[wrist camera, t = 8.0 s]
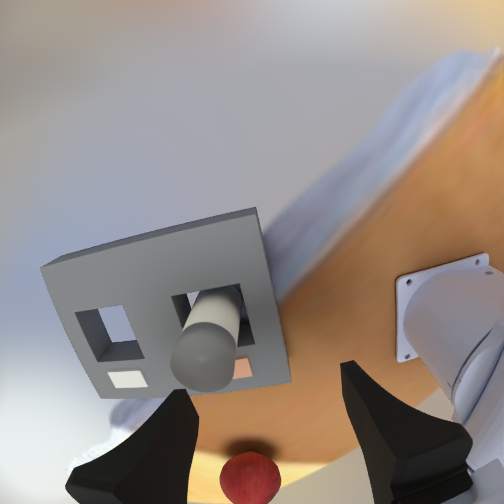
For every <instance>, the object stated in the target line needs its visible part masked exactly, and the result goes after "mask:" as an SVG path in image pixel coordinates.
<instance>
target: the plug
mask: <svg viewBox="0 0 504 504" xmlns="http://www.w3.org/2000/svg"><path fill="white" fill-rule="evenodd" d="M241 306H242V299H241V295H240V293H239V291H238V290H237V289H236V288H235V287H234V286H233V285H228V286H222V287H217V288H212V289H207V290H201V291H200V292H199V294H198V296H197V298H196V301H195V303H194V305H193V307H192V310H191V312H190V314H189V317H188V319H187V321H186V323H185V326H184V328H183V330H182V333H181V335H180V337H179V340H178V342H177V344H176V347H175V349H174V351H173V354H172V356H171V360H170V367H171V371H172V373H173V375H174V376H175V378H176V379H177V380H178V381H179V382H180V383H181V384H182V385H184V386H185V387H187V388H189V389H191V390H194V391H198V392H215V391H219V390H221V389H223V388H225V387H226V386H227V385H228V384H229V383H230V382H231V381H232V379H233V376H234V369H235V360H236V351H237V342H238V333H239V324H240V315H241Z"/></svg>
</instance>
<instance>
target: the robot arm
mask: <svg viewBox="0 0 504 504" xmlns="http://www.w3.org/2000/svg"><path fill="white" fill-rule="evenodd" d="M476 260H477V262H476ZM475 262H476V263H475ZM409 279H410V282H409V283H408V284H406V282H407V280H409ZM396 305H397V340H396V360H397V361H398V362H400V363H401V362H405V361H408V360H411V359H414V358H417V357H420V359H421V360H422V362H423V363H424V364H425V366H426V367H427V368H428V370H429V371H430V373H431V374H432V376H433V377H434V378H435V380H436V381H437V383H438V384H439V385H440V387H441V388H442V390H443V391H444V393H445V394H446V396H447V397H448V399H449V400H450V402H451V403H452V405H453V406H454V414H453V415H452V420H453V421H454V422H451V421H447V420H443V419H439V418H436V417H433V416H431V415H428V414H426V413H423V412H421V411H419V410H417V409H415V408H413V407H411V406H409V405H407V404H405V403H404V402H402V401H400V400H399V399H397V398H396V397H394V396H393V395H392V394H390V393H389V392H387V391H386V390H385V389H384V388H382V387H381V386H380V385H379V384H378V383H376V382H375V381H374V380H373V379H372V378H371V377H370V376H369V375H368V374H367V373H366V372H365V371H364V370H363V369H362V368H361V367H360V366H359V365H358V364H357V363H356V362H355V361H354V360H352V361H348V362H344V363H340V368H341V380H342V394H343V399H344V402H345V406H346V410H347V414H348V416H349V419H350V421H351V424H352V426H353V429H354V431H355V434H356V436H357V439H358V441H359V444H360V446H361V449H362V452H363V455H364V459H365V462H366V467H367V471H368V475H369V479H370V484H371V488H372V493H373V498H374V503H375V504H504V273H502V272H501V271H499V270H497V269H495V268H494V267H492V266H490V265H489V255H488V254H486V253H481V254H478V255H475V256H472V257H468V258H465V259H462V260H458V261H455V262H451V263H448V264H444V265H441V266H437V267H434V268H430V269H427V270H423V271H419V272H416V273H412V274H408V275H404V276H401V277H399V278H398V279H397V281H396ZM407 354H408V355H407ZM406 355H407V356H406ZM405 356H406V357H405ZM198 429H199V416H198V414H197V411H196V409H195V407H194V405H193V403H192V401H191V399H190V397H189V395H188V392H187V390H186V388H185V389H174V390H173V391H172V392H171V393H170V394H169V396H168V397H167V398H166V399H165V400H164V402H163V403H162V404H161V405H160V406H159V407H158V409H157V410H156V411H155V412H154V413H153V414H152V415H151V416H150V418H149V419H148V420H147V421H146V422H145V423H144V424H143V425H142V426H141V427H140V428H139V429H138V430H137V431H136V432H134V433H133V434H132V435H131V436H130V437H129V438H127V439H126V440H125V441H124V442H122V443H121V444H119V445H118V446H116V447H115V448H113V449H112V450H110V451H109V452H107V453H106V454H104V455H102V456H100V457H98V458H96V459H94V460H92V461H90V462H88V463H85V464H83V465H80V466H78V467H75V468H74V469H73V471H72V473H71V475H70V477H69V479H68V481H67V483H66V485H65V488H66V490H67V492H68V493H69V494H70V495H71V496H72V497H73V498H74V499H75V500H76V501H77V502H78V503H79V504H187V492H188V481H189V473H190V468H191V464H192V459H193V455H194V451H195V446H196V442H197V437H198Z"/></svg>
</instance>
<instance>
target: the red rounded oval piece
mask: <svg viewBox="0 0 504 504" xmlns="http://www.w3.org/2000/svg"><path fill="white" fill-rule="evenodd" d="M220 485H221V488H222V490H223V492H224V494H225V495H226V497H227V498H228V499H229V500H230V501H231V502H232V503H234V504H268V503H269V502H270V501H271V500H272V499H273V498H274V496H275V495H276V493H277V492H278V491H279V488H280V486H281V476H280V472H279V469H278V466H277V465H276V464H275V463H274V462H273V461H272V460H270V459H269V458H267V457H266V456H264V455H261V454H258V453H255V452H254V451H246V452H245V453H243V454H239V455H237V456H235V457H233V458H231V459H230V460H228V461H227V462H226V464H225V465H224V466H223V468H222V471H221V474H220Z"/></svg>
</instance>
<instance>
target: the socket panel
mask: <svg viewBox="0 0 504 504" xmlns="http://www.w3.org/2000/svg"><path fill="white" fill-rule="evenodd" d="M40 270H41V273H42V276H43V278H44V281H45V284H46V286H47V289H48V292H49V294H50V297H51V299H52V301H53V304H54V307H55V309H56V311H57V314H58V316H59V318H60V321H61V323H62V325H63V327H64V330H65V332H66V333H67V336H68V338H69V340H70V342H71V344H72V346H73V348H74V350H75V352H76V354H77V356H78V358H79V360H80V362H81V364H82V366H83V368H84V370H85V372H86V373H87V375H88V377H89V379H90V380H91V382H92V384H93V386H94V388H95V389H96V391H97V393H98V394H99V396H100V398H106V399H130V398H162V397H168V396H169V394H170V393H171V392H172V391H173V390H174V389H185V388H186V390H187V392H188V395H189V396H192V395H203V394H214V393H223V392H231V391H239V390H246V389H253V388H260V387H266V386H272V385H278V384H284V383H290V382H292V381H291V373H290V366H289V359H288V354H287V349H286V344H285V339H284V334H283V330H282V325H281V320H280V315H279V311H278V306H277V301H276V296H275V292H274V287H273V282H272V278H271V273H270V268H269V264H268V259H267V255H266V250H265V245H264V241H263V236H262V232H261V227H260V223H259V218H258V214H257V210H256V207H253V208H249V209H244V210H240V211H235V212H231V213H226V214H222V215H217V216H213V217H209V218H205V219H200V220H196V221H192V222H187V223H184V224H179V225H175V226H171V227H167V228H163V229H159V230H155V231H151V232H147V233H143V234H139V235H136V236H132V237H128V238H124V239H120V240H116V241H113V242H109V243H106V244H102V245H98V246H94V247H91V248H88V249H84V250H80V251H77V252H73V253H70V254H66V255H63V256H60V257H58V258H56V259H55V260H53V261H51V262H49V263H48V264H46V265H44V266H42V267H40ZM238 283H240V287H241V291H242V295H243V299H244V303H245V306H246V310H247V314H248V318H249V322H250V323H249V324H243V325H239V333H238V342H237V351H236V360H235V369H234V376H233V379H232V381H231V382H230V383H229V384H228V385H227V386H226V387H225V388H223V389H221V390H219V391H215V392H198V391H194V390H191V389H189V388H187V387H185V386H184V385H182V384H181V383H180V382H179V381H178V380H177V379H176V378H175V376H174V375H173V373H172V371H171V367H170V360H171V356H172V354H173V351H174V349H175V347H176V344H177V342H178V340H179V337H180V335H181V333H182V330H183V328H184V326H185V323H186V321H187V319H188V317H189V314H190V312H191V310H192V309H191V306H190V303H189V300H188V297H187V294H186V293H191V292H196V291H201V290H207V289H212V288H217V287H222V286H228V285H233V284H238ZM116 305H123V307H124V310H125V312H126V315H127V317H128V320H129V322H130V325H131V327H132V329H133V332H134V334H135V336H136V339H137V340H132V341H123V342H114V343H112V341H111V339H110V337H109V335H108V333H107V330H106V328H105V326H104V323H103V321H102V319H101V316H100V314H99V311H98V308H104V307H110V306H116Z"/></svg>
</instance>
